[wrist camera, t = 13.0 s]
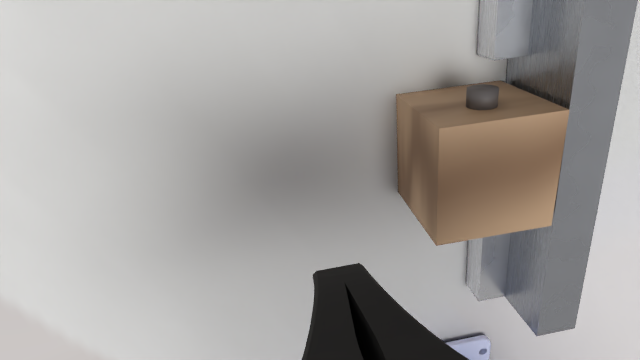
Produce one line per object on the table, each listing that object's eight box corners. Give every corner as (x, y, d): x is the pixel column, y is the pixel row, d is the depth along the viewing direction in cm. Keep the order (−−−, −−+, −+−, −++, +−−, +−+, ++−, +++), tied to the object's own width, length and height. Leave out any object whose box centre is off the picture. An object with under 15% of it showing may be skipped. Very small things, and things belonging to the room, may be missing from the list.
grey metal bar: (523, 272, 26) (574, 328, 22) (466, 284, 26) (507, 341, 22) (558, -29, 19) (642, -28, 15) (480, -19, 19) (546, -16, 15)
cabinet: (491, 176, 23) (551, 225, 19) (397, 191, 23) (436, 245, 18) (500, 65, 21) (572, 90, 16) (395, 78, 20) (439, 109, 16)
